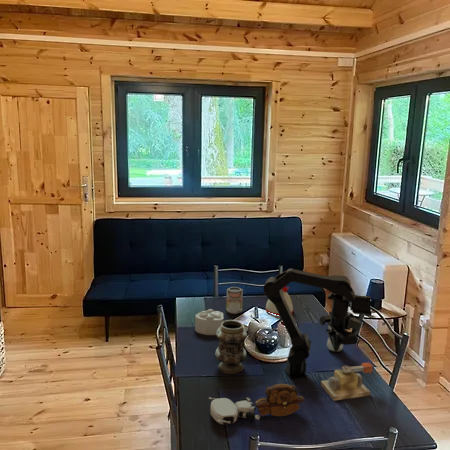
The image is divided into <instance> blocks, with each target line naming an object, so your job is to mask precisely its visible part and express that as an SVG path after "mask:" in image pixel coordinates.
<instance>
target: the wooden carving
mask: <svg viewBox="0 0 450 450" xmlns="http://www.w3.org/2000/svg"><path fill="white" fill-rule="evenodd" d="M264 393H265V395H266V397H262V398H258V399H257V400H256V401H255V402H254V406H255V407H256V409H257V410H258V413H259V414H260V417H261V416H263V417H264V416H266V415H268V414H270V415H271V416H274V417H285V416H289V415H292V414H294V413H295V412H297V411H299V410H300V408H301V407H300V405H299V404H300V403H303V402H305V398H304V397H303V396H302V395H298V389H297V388H296V386H295V385H294V384H292V385H290V384H288V383H277V384H274V385H272V386H270V387H269V386H267V387H266V389H265V392H264Z"/></svg>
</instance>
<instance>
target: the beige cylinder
mask: <svg viewBox="0 0 450 450" xmlns="http://www.w3.org/2000/svg"><path fill="white" fill-rule="evenodd" d="M243 292H244V290H243V288H240V287H237V286H231V287H229V288H227V289H226V305H225V307H226V312H227V313H229V314H231V315H237V314H238V313H239V314H240V313H242V311H243V296H244V295H243Z"/></svg>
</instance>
